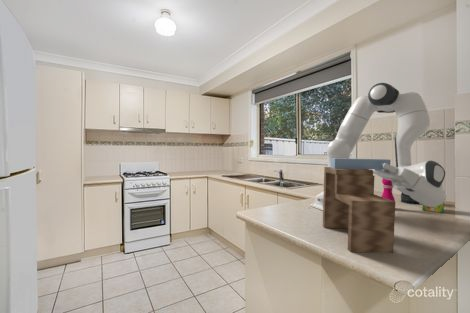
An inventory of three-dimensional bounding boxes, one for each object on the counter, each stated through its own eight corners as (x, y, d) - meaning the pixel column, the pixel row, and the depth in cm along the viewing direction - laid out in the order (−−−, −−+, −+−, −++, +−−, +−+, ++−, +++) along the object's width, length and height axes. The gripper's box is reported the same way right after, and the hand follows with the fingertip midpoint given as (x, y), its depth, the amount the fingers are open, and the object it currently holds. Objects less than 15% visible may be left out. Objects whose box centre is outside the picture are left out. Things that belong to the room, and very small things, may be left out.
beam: (383, 168, 96) (384, 159, 96) (390, 169, 92) (390, 159, 92) (330, 167, 96) (330, 158, 96) (334, 168, 92) (334, 158, 92)
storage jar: (405, 203, 146) (406, 180, 146) (397, 200, 156) (398, 178, 155) (423, 204, 144) (424, 181, 144) (413, 201, 154) (415, 178, 154)
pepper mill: (389, 210, 129) (391, 175, 128) (377, 207, 136) (378, 173, 135) (397, 209, 133) (398, 174, 132) (384, 206, 139) (385, 173, 138)
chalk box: (422, 210, 131) (423, 184, 130) (422, 207, 138) (423, 182, 137) (444, 213, 125) (445, 186, 124) (443, 210, 132) (445, 184, 131)
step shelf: (354, 226, 101) (356, 167, 100) (393, 252, 76) (396, 174, 75) (322, 226, 101) (324, 167, 100) (350, 251, 76) (353, 173, 75)
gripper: (391, 171, 105) (365, 155, 104) (429, 177, 84) (397, 158, 84) (384, 183, 105) (358, 167, 105) (419, 192, 84) (387, 172, 84)
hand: (375, 163), depth 94 cm, fingers open, 8 cm apart
